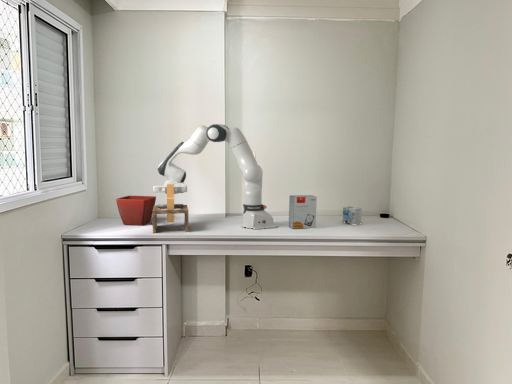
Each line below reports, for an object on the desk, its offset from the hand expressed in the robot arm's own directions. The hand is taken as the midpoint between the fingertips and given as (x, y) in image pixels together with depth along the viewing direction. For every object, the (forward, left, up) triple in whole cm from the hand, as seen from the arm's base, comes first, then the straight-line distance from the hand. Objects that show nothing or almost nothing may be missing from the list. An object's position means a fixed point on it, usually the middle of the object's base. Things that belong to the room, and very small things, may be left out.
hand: (170, 190), depth 220 cm
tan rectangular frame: (0, -1, -24) cm, 24 cm away
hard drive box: (-80, +8, -24) cm, 84 cm away
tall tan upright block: (0, -1, -18) cm, 19 cm away
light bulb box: (-117, +2, -24) cm, 119 cm away
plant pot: (+21, -22, -24) cm, 39 cm away
